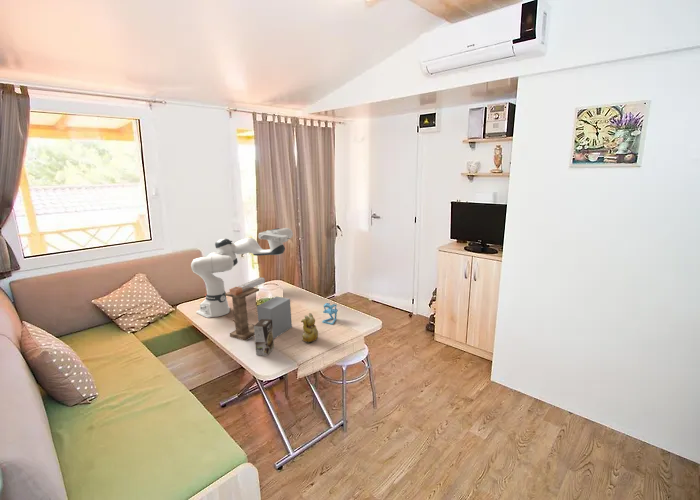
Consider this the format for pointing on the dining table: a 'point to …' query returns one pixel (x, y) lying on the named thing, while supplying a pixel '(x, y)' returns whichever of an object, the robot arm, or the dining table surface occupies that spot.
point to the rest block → (276, 314)
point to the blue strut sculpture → (330, 312)
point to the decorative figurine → (309, 329)
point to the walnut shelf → (242, 315)
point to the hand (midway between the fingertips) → (267, 238)
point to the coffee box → (264, 337)
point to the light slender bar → (246, 286)
